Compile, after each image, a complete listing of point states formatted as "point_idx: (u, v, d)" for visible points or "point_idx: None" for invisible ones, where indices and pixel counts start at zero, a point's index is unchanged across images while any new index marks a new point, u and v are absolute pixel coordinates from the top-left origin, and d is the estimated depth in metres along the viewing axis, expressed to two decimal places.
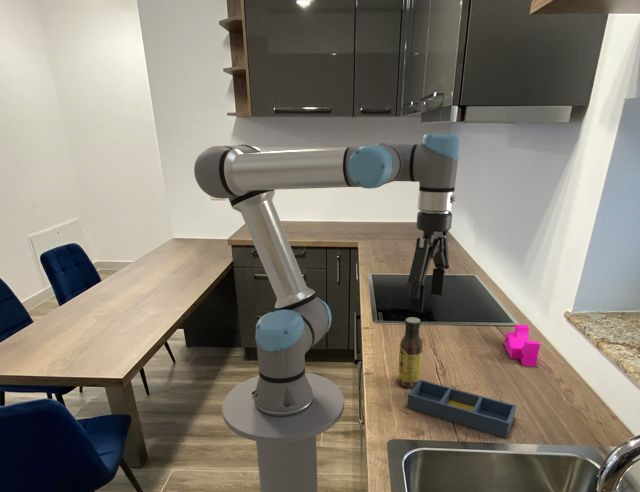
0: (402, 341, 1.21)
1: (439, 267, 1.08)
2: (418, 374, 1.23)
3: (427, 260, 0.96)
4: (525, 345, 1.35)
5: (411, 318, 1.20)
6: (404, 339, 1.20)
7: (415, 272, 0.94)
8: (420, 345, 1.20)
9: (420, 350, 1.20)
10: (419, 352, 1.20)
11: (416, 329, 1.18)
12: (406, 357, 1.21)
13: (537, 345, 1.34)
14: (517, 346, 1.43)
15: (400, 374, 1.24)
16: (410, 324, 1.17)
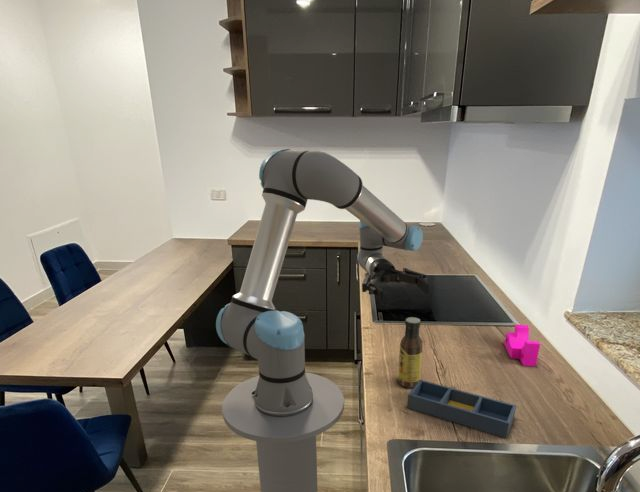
0: (402, 341, 1.21)
1: None
2: (418, 374, 1.23)
3: None
4: (525, 345, 1.35)
5: (411, 318, 1.20)
6: (404, 339, 1.20)
7: None
8: (420, 345, 1.20)
9: (420, 350, 1.20)
10: (419, 352, 1.20)
11: (416, 329, 1.18)
12: (406, 357, 1.21)
13: (537, 345, 1.34)
14: (517, 346, 1.43)
15: (400, 374, 1.24)
16: (410, 324, 1.17)
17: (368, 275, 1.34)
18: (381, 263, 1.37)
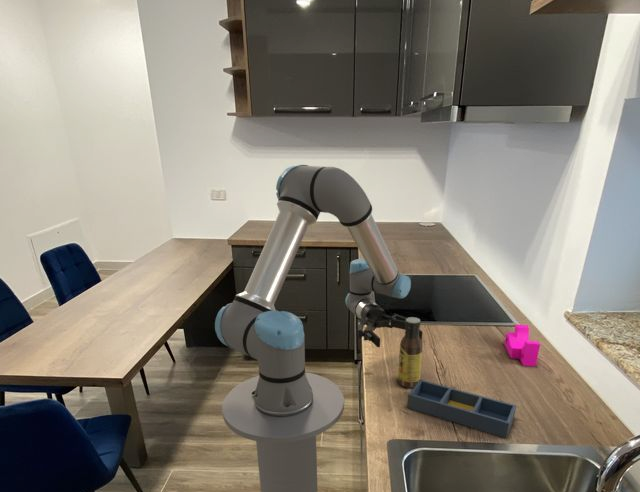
0: (402, 341, 1.21)
1: None
2: (418, 374, 1.23)
3: None
4: (525, 345, 1.35)
5: (411, 318, 1.20)
6: (404, 339, 1.20)
7: None
8: (420, 345, 1.20)
9: (420, 350, 1.20)
10: (419, 352, 1.20)
11: (416, 329, 1.18)
12: (406, 357, 1.21)
13: (537, 345, 1.34)
14: (517, 346, 1.43)
15: (400, 374, 1.24)
16: (410, 324, 1.17)
17: (361, 321, 1.38)
18: (373, 309, 1.42)
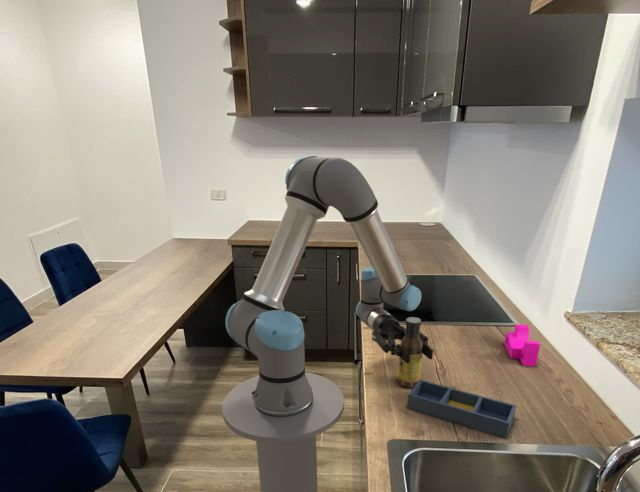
0: (402, 341, 1.21)
1: None
2: (418, 374, 1.23)
3: None
4: (525, 345, 1.35)
5: (412, 318, 1.20)
6: (404, 339, 1.20)
7: None
8: (420, 345, 1.20)
9: (420, 350, 1.20)
10: (419, 352, 1.20)
11: (416, 329, 1.18)
12: None
13: (537, 345, 1.34)
14: (517, 346, 1.43)
15: (400, 374, 1.24)
16: (411, 324, 1.17)
17: (378, 334, 1.29)
18: (386, 319, 1.33)
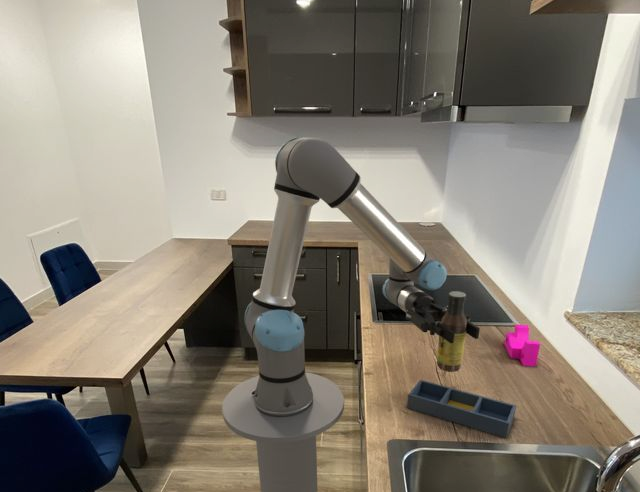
0: (444, 318, 1.07)
1: None
2: (461, 356, 1.09)
3: None
4: (525, 345, 1.35)
5: (455, 292, 1.06)
6: (446, 316, 1.06)
7: None
8: (465, 323, 1.06)
9: (464, 329, 1.06)
10: (463, 331, 1.06)
11: (461, 304, 1.04)
12: None
13: (537, 345, 1.34)
14: (517, 346, 1.43)
15: (440, 356, 1.10)
16: (455, 299, 1.03)
17: (414, 312, 1.15)
18: (421, 297, 1.19)
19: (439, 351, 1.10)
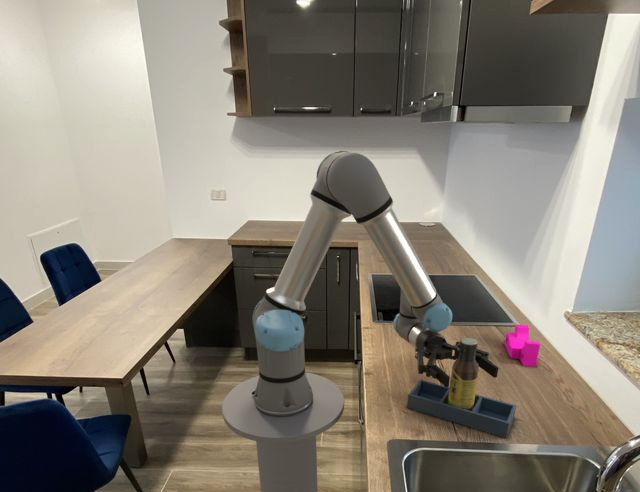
0: (455, 364, 1.07)
1: None
2: (472, 401, 1.09)
3: None
4: (525, 345, 1.35)
5: (467, 338, 1.06)
6: (458, 362, 1.06)
7: None
8: (476, 369, 1.06)
9: (476, 375, 1.06)
10: (475, 377, 1.06)
11: (473, 351, 1.04)
12: (460, 383, 1.07)
13: (537, 345, 1.34)
14: (517, 346, 1.43)
15: (451, 401, 1.10)
16: (467, 346, 1.03)
17: (420, 351, 1.15)
18: (432, 336, 1.19)
19: (450, 396, 1.10)
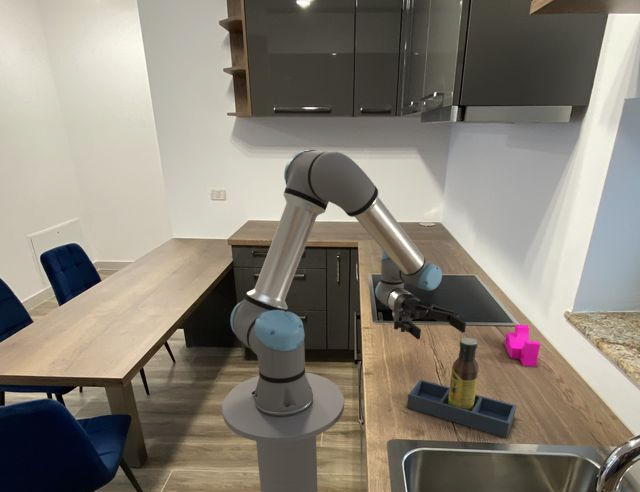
0: (455, 364, 1.07)
1: None
2: (472, 401, 1.09)
3: None
4: (525, 345, 1.35)
5: (467, 338, 1.06)
6: (458, 362, 1.06)
7: None
8: (476, 369, 1.06)
9: (476, 375, 1.06)
10: (475, 377, 1.06)
11: (473, 351, 1.04)
12: (460, 383, 1.07)
13: (537, 345, 1.34)
14: (517, 346, 1.43)
15: (451, 401, 1.10)
16: (467, 346, 1.03)
17: (397, 311, 1.26)
18: (409, 298, 1.30)
19: (450, 396, 1.10)
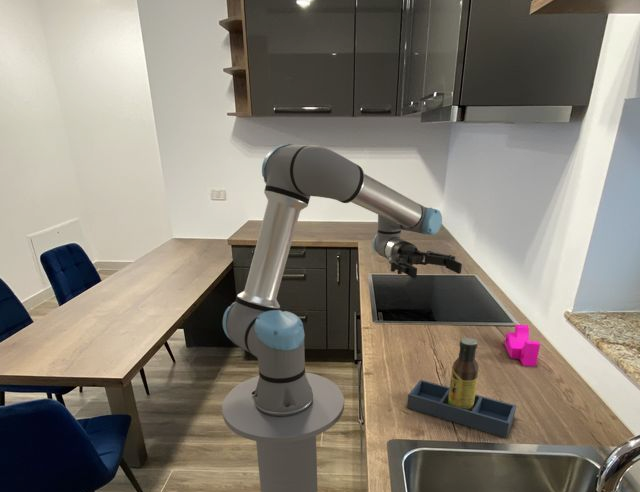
0: (455, 364, 1.07)
1: None
2: (472, 401, 1.09)
3: None
4: (525, 345, 1.35)
5: (467, 338, 1.06)
6: (458, 362, 1.06)
7: None
8: (476, 369, 1.06)
9: (476, 375, 1.06)
10: (475, 377, 1.06)
11: (473, 351, 1.04)
12: (460, 383, 1.07)
13: (537, 345, 1.34)
14: (517, 346, 1.43)
15: (451, 401, 1.10)
16: (467, 346, 1.03)
17: (394, 256, 1.28)
18: (405, 245, 1.31)
19: (450, 396, 1.10)
